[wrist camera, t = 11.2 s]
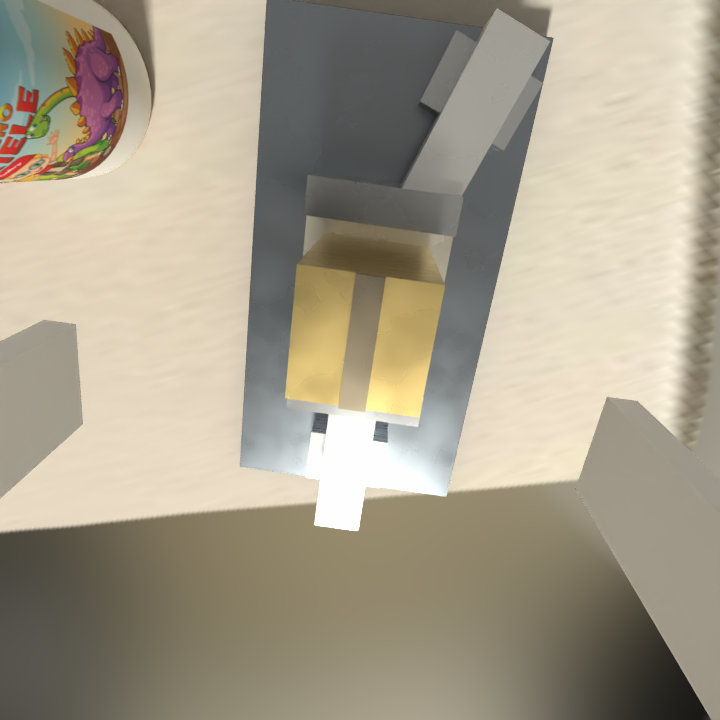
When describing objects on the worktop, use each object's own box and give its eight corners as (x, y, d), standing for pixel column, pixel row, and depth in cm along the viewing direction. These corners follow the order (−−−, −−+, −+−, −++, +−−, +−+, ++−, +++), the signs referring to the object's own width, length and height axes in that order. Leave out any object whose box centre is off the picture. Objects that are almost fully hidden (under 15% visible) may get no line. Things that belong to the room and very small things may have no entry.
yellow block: (324, 232, 25) (295, 265, 17) (428, 247, 25) (446, 286, 17) (314, 331, 27) (283, 400, 19) (410, 345, 27) (419, 420, 19)
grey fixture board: (245, 456, 31) (216, 517, 26) (272, 4, 23) (238, -42, 17) (443, 485, 31) (454, 551, 26) (545, 43, 23) (592, 9, 17)
